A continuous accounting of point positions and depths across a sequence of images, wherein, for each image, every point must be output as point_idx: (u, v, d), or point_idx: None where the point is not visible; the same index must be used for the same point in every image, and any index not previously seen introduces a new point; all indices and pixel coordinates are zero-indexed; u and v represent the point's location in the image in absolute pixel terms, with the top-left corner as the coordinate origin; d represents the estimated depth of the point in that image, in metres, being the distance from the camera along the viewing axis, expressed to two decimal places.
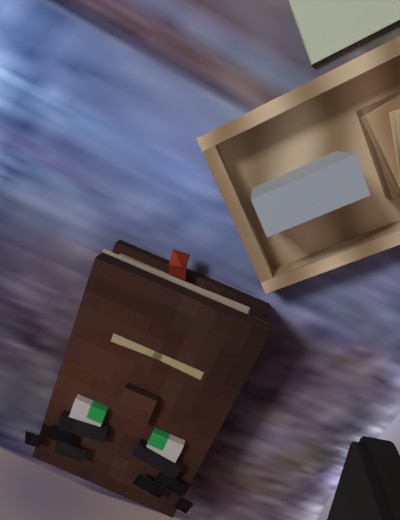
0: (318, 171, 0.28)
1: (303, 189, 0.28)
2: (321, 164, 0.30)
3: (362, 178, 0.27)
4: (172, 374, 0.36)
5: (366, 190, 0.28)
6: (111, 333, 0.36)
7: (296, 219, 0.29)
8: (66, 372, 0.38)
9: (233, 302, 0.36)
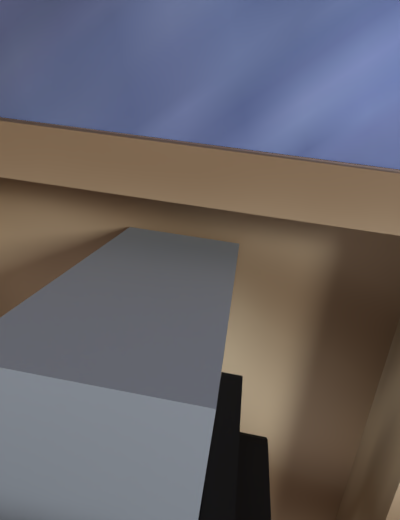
0: None
1: None
2: None
3: None
4: None
5: None
6: None
7: None
8: None
9: None
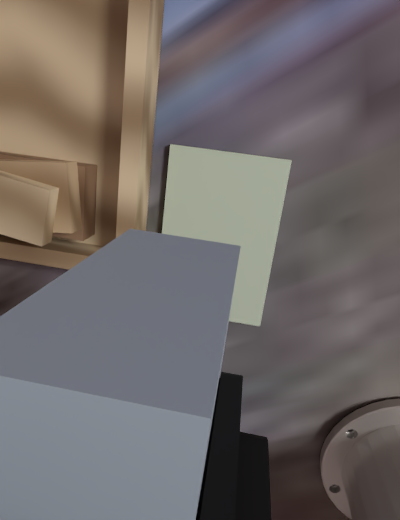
0: None
1: None
2: None
3: None
4: None
5: None
6: None
7: None
8: None
9: None
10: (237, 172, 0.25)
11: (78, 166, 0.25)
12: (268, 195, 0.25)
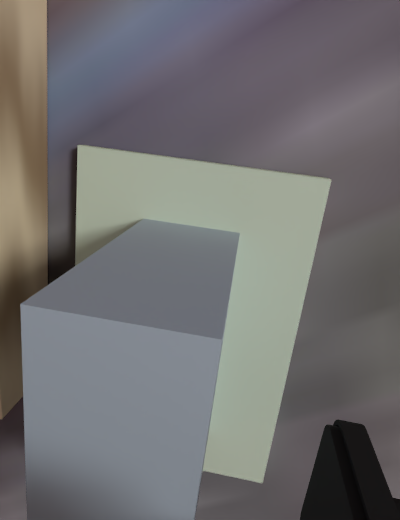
0: None
1: (145, 515, 0.07)
2: None
3: None
4: None
5: None
6: None
7: (47, 439, 0.07)
8: None
9: None
10: (216, 202, 0.12)
11: None
12: (280, 250, 0.12)
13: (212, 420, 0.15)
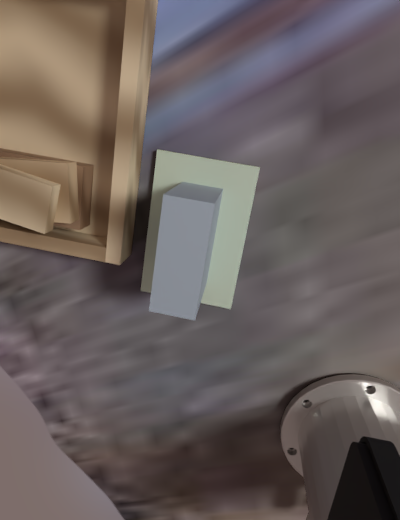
0: (200, 282, 0.25)
1: (191, 260, 0.24)
2: (204, 279, 0.27)
3: (168, 313, 0.26)
4: None
5: (155, 310, 0.26)
6: None
7: (164, 235, 0.24)
8: None
9: None
10: (213, 175, 0.29)
11: (77, 166, 0.29)
12: (239, 196, 0.30)
13: (208, 276, 0.32)
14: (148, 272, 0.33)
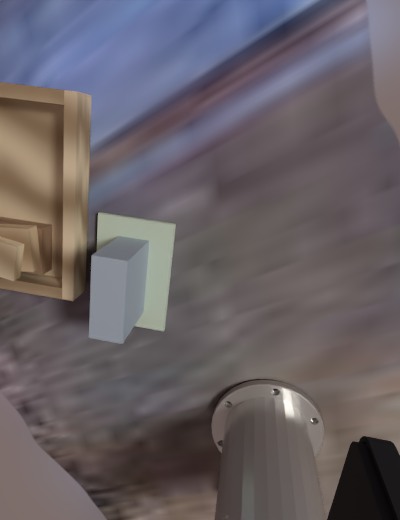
0: (123, 316, 0.34)
1: (115, 300, 0.33)
2: (131, 311, 0.36)
3: (103, 339, 0.35)
4: None
5: (93, 337, 0.35)
6: None
7: (95, 283, 0.33)
8: None
9: None
10: (141, 231, 0.39)
11: (37, 228, 0.38)
12: (162, 246, 0.39)
13: (144, 306, 0.41)
14: None
